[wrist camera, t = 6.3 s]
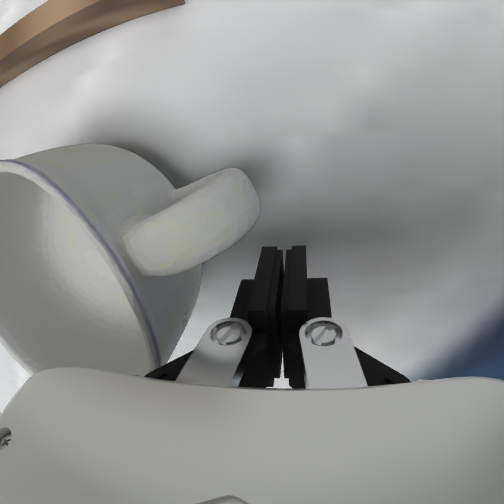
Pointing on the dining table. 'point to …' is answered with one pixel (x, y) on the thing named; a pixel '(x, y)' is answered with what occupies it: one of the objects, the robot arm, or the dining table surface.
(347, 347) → the robot arm
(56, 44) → the walnut bay
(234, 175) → the teacup
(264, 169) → the dining table surface
